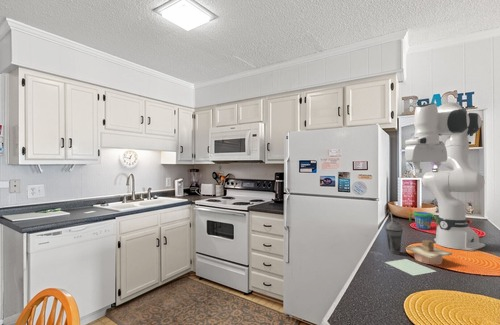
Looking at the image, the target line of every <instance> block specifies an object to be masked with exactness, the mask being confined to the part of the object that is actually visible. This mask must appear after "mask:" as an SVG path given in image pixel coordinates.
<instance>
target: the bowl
mask: <svg viewBox="0 0 500 325" xmlns="http://www.w3.org/2000/svg"><path fill="white" fill-rule="evenodd" d="M413 255H414V256H413V258H414V260H415V261H418V262H419V263H422V264H428V265H435V266H436V265H441V264H443V256H441V257H435V258H429V257H426V256H423V255H421V254H418V253H415V252H413Z"/></svg>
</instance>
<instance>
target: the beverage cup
mask: <svg viewBox="0 0 500 325" xmlns="http://www.w3.org/2000/svg"><path fill="white" fill-rule="evenodd" d="M390 217H391V218H390V219H391V221H389V222H387V223H386V226H385V233H386V239H387V246H388V253H389V254H392V255H400V254H401V249H402V248H401V245H402V235H403V231H404V230H403V226H402V225H401V223H400V222H399V221H397V220H394V219H393V214H392V211H390Z"/></svg>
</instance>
